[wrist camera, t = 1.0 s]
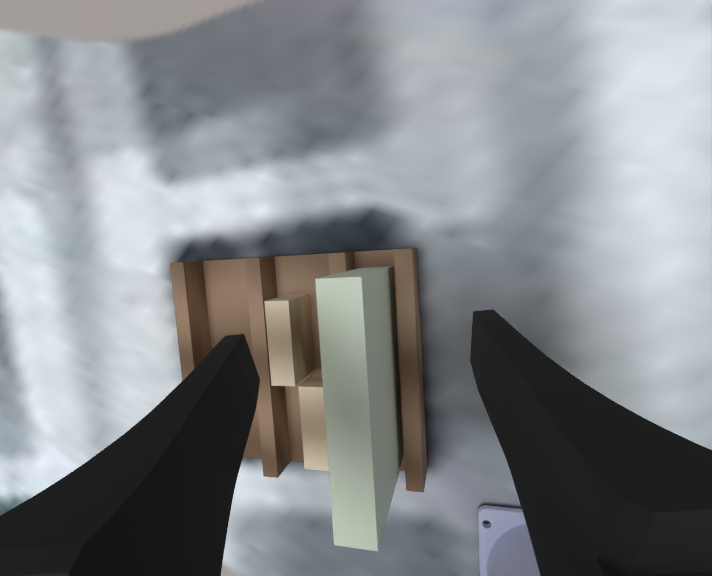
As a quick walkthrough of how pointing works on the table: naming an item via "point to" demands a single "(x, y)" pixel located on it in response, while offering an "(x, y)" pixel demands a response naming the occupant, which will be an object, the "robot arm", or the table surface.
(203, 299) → the rack
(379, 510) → the pale green slab
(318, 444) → the offcut
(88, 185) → the table surface
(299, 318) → the offcut
